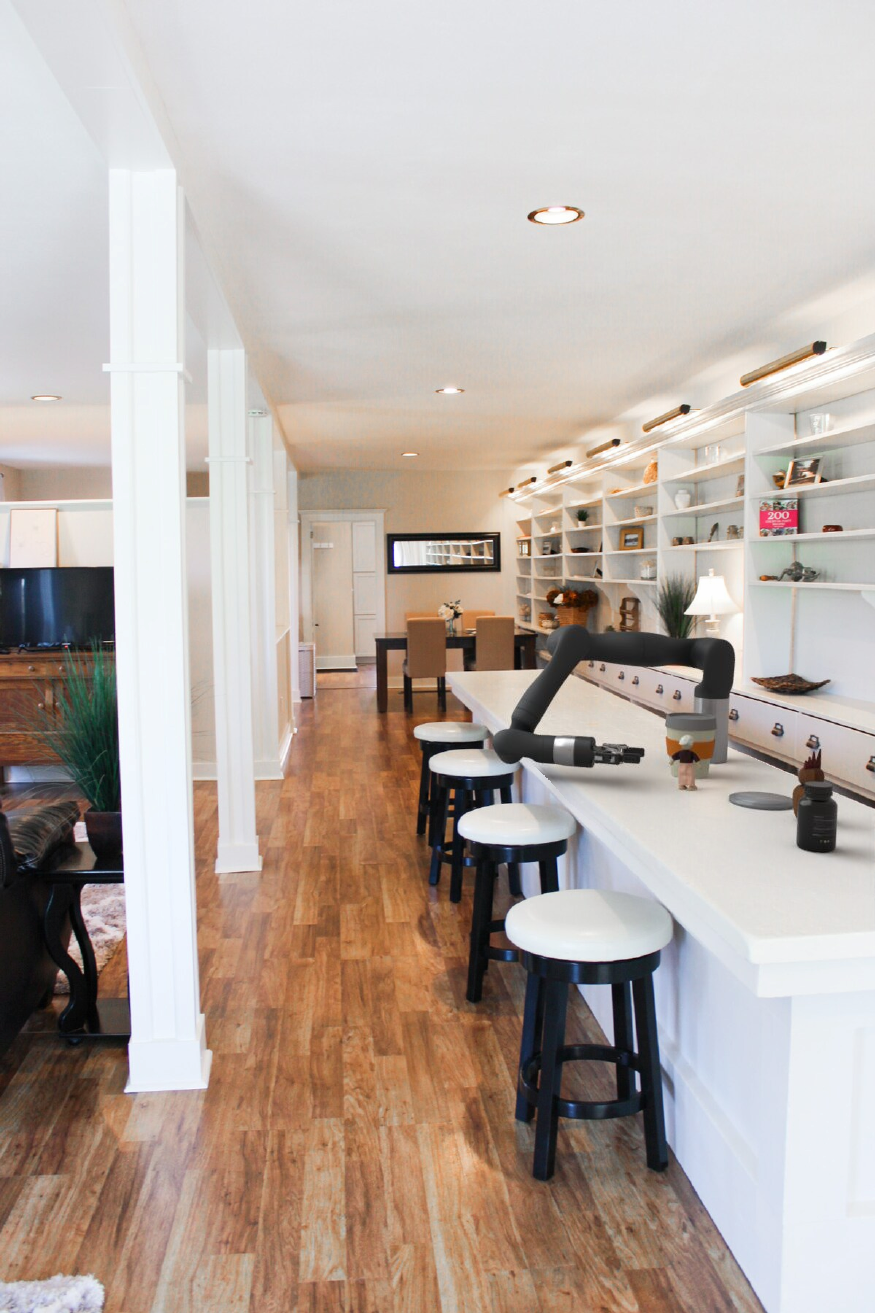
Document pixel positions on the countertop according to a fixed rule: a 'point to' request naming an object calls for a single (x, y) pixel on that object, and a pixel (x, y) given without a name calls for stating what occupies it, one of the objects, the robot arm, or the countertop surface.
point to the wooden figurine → (807, 777)
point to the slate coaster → (761, 800)
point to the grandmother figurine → (686, 763)
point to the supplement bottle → (817, 818)
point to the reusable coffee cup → (702, 735)
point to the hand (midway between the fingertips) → (642, 755)
